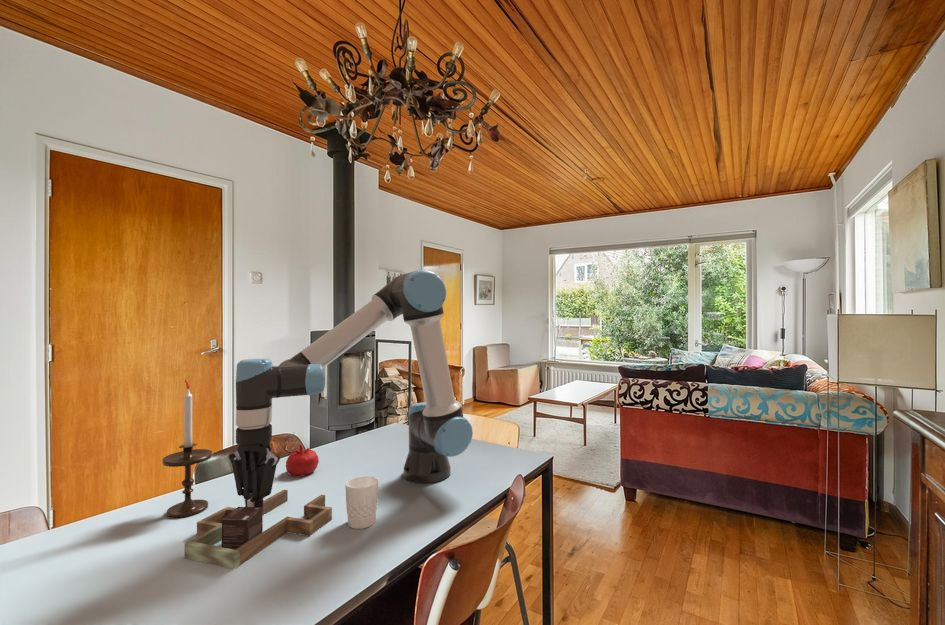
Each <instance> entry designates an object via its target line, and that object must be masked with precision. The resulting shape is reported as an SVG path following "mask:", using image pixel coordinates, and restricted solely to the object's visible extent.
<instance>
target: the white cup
mask: <svg viewBox="0 0 945 625" xmlns="http://www.w3.org/2000/svg"><path fill="white" fill-rule="evenodd" d="M344 485H345V486H344V488H345V503H346V504H345V506H346V513H347V526H349V527H350V528H352V529H355V530H357V529H358V530H359V529H361V530H362V529H367V528H369V527H372V526H373V525H374V524H375V523H376V521H377V509H378V494H379V492H378V491H379V479H378V478H377V477H375V476H372V475H362V476H361V475H360V476H355V477H352V478H350V479H348V480H346V481H345V483H344Z"/></svg>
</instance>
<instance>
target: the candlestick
mask: <svg viewBox="0 0 945 625" xmlns="http://www.w3.org/2000/svg"><path fill="white" fill-rule="evenodd" d="M184 382H185V385H186V386H185V387H186V391H185V392H186V393H185V394H183V444H182V445H179V446H178V448H179V449H183V450H182V451H177V452H174V453H171V454H168V455H166V456H165V457H163V458H162V465H163V466H165V467H170V468H171V467H173V468H175V467H184V479H183V480H182V481H181V485H182V486H183V488H184V490H182V492H181V493H182V494H183V495H184V500H183V501H181V502H179V503H175V504H174V505H172V506H170V507H169V508H168V509H167V510H166V517H167V518H169V519H184V518H185V519H186V518H190V517H192V516H196V515H199V514H201V513H203V512H204V511H206V510H207V509H208V508H209V502H208V501H207V500H205V499H192V493H193V492H194V488H192V485H194V483H195V479H194V478H192V466H193V465H196V464H200V463H203V462H205V461H208V460H210V459H211V458H212V457H213V451H212V450H211V449H205V448H203V449H202V448H200V449H199V448H198V449H196V448H195V449H194V448H193V447H196V446H197V445H198V443H193V394H192V393H191V391H190V387H191V386H190V382H189V381H188V379H187V377H185V380H184Z"/></svg>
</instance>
